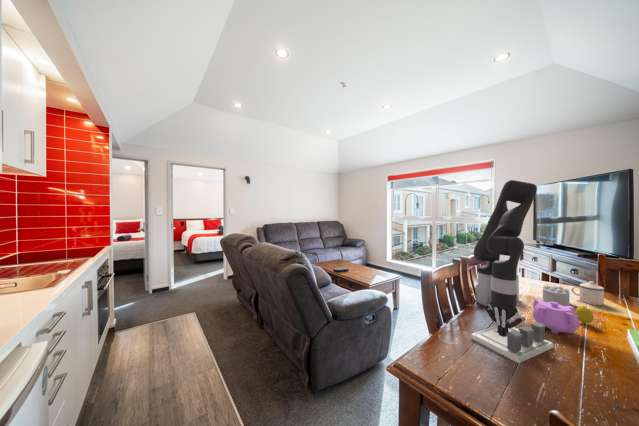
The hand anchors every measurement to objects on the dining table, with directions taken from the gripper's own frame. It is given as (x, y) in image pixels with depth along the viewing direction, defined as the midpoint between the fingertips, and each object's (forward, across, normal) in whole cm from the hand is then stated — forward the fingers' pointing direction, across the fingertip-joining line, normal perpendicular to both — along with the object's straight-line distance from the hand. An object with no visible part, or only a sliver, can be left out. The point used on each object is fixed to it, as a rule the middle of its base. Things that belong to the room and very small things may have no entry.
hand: (502, 335), depth 83 cm
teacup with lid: (+6, +9, -94) cm, 95 cm away
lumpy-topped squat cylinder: (+6, +15, -76) cm, 78 cm away
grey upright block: (+3, -4, 0) cm, 5 cm away
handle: (+3, -3, -16) cm, 17 cm away
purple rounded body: (+6, +1, -38) cm, 39 cm away
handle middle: (+3, -3, -8) cm, 9 cm away
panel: (+6, +2, -8) cm, 10 cm away
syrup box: (+6, +29, -60) cm, 67 cm away
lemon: (+6, -2, -56) cm, 56 cm away
